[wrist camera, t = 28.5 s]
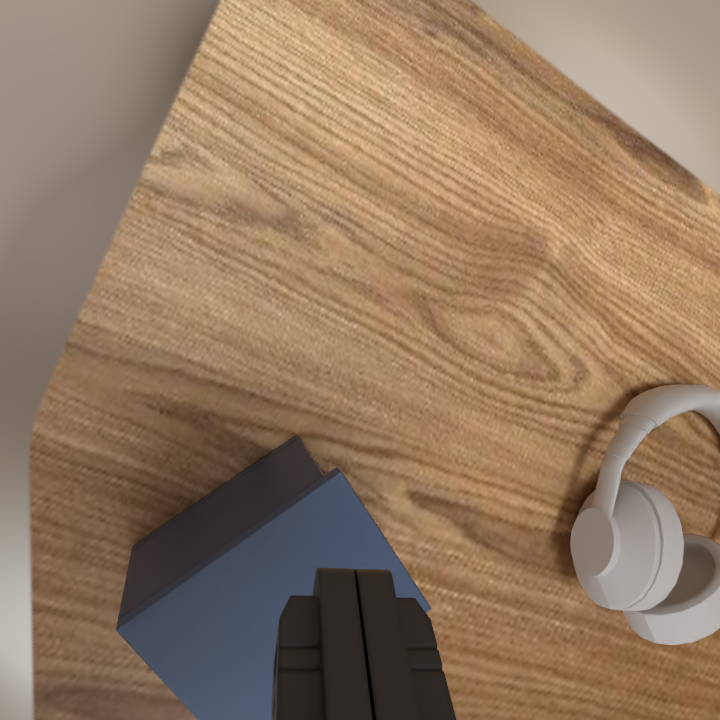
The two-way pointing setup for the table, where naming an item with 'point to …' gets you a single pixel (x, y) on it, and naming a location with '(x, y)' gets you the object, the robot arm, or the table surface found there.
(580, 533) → the headphones
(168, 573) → the chest
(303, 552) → the lid
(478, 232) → the table surface
